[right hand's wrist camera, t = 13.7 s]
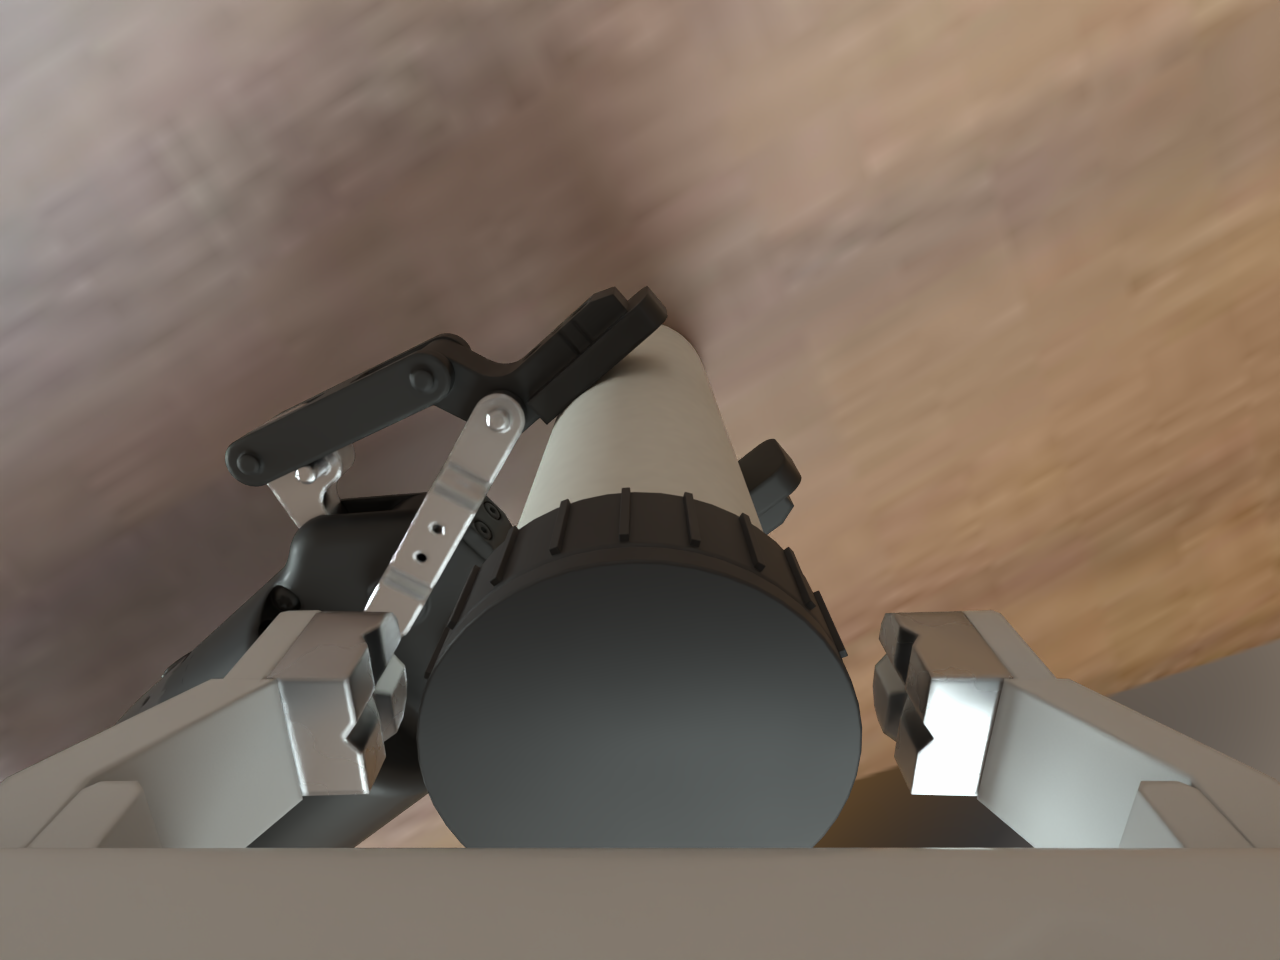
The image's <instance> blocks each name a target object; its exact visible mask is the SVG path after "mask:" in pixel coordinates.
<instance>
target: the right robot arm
mask: <svg viewBox="0 0 1280 960" xmlns="http://www.w3.org/2000/svg"><path fill="white" fill-rule="evenodd" d="M400 640H401V635H400V629H399V624H398V619H397V617H396V616H395V615H394V614H393V613H392V612H362V611H319V610H303V611H286V612H281V613H280V614H279V615H278V616H277V617H276V618H275V619H274V620H273V622H272V623H271V624H270V625H269V626H268V627H267V628H266V630H265V631H264V632H263V633H262V634H261V635H260V637H259V638H258V639H257V640H256V641H255V642H254V644H253V645H252V646H251V647H250V648H249V649H248V651H247V652H246V653H245V654H244V655H243V656H242V657H241V659H240V660H239V661H238V662H237V663H236V664H235V666H234V667H233V668H232V669H231V670H230V671H229V673H228V674H227V675H226V676H225V677H224V678H223V679H210V680H208V681H206V682H204V683H202V684H200V685H198V686H196V687H194V688H191V689H189V690H187V691H185V692H183V693H181V694H179V695H177V696H175V697H173V698H171V699H169V700H167V701H165V702H162V703H160V704H158V705H156V706H154V707H152V708H150V709H148V710H146V711H144V712H142V713H140V714H138V715H136V716H133V717H131V718H129V719H127V720H125V721H123V722H121V723H119V724H117V725H115V726H113V727H111V728H109V729H107V730H105V731H102V732H100V733H98V734H96V735H94V736H92V737H90V738H88V739H86V740H84V741H82V742H80V743H78V744H76V745H73V746H71V747H69V748H67V749H65V750H63V751H61V752H59V753H57V754H55V755H53V756H51V757H49V758H47V759H44V760H42V761H40V762H38V763H36V764H34V765H32V766H30V767H28V768H26V769H24V770H22V771H20V772H18V773H15V774H13V775H11V776H9V777H7V778H6V779H5V780H4V781H3V782H2V783H0V960H1280V783H1279V782H1278V781H1277V780H1276V779H1274V778H1272V777H1270V776H1268V775H1266V774H1264V773H1262V772H1260V771H1258V770H1256V769H1254V768H1252V767H1250V766H1248V765H1245V764H1243V763H1241V762H1239V761H1237V760H1235V759H1233V758H1231V757H1229V756H1227V755H1225V754H1223V753H1221V752H1219V751H1217V750H1215V749H1212V748H1210V747H1208V746H1206V745H1204V744H1202V743H1200V742H1198V741H1196V740H1194V739H1192V738H1190V737H1188V736H1186V735H1184V734H1181V733H1179V732H1177V731H1175V730H1173V729H1171V728H1169V727H1167V726H1165V725H1163V724H1161V723H1159V722H1157V721H1155V720H1153V719H1151V718H1148V717H1146V716H1144V715H1142V714H1140V713H1138V712H1136V711H1134V710H1132V709H1130V708H1128V707H1126V706H1124V705H1122V704H1119V703H1117V702H1115V701H1113V700H1111V699H1109V698H1107V697H1105V696H1103V695H1101V694H1099V693H1097V692H1095V691H1093V690H1091V689H1089V688H1087V687H1084V686H1082V685H1080V684H1078V683H1076V682H1074V681H1072V680H1070V679H1057V678H1056V677H1055V676H1054V675H1053V674H1052V672H1051V671H1050V670H1049V669H1048V668H1047V667H1046V665H1045V664H1044V663H1043V662H1042V661H1041V660H1040V659H1039V657H1038V656H1037V655H1036V654H1035V653H1034V652H1033V650H1032V649H1031V648H1030V647H1029V646H1028V645H1027V643H1026V642H1025V641H1024V640H1023V639H1022V638H1021V637H1020V635H1019V634H1018V633H1017V632H1016V631H1015V630H1014V628H1013V627H1012V626H1011V625H1010V624H1009V623H1008V621H1007V620H1006V619H1005V618H1004V617H1003V616H1002V615H1001V614H1000V613H998V612H996V611H994V610H978V611H954V612H914V613H885V616H884V618H883V621H882V623H881V629H880V635H879V640H880V642H881V644H882V646H883V648H884V650H885V652H886V655H885V656H884V657H883V658H882V659H881V660H880V661H879V662H878V663H877V664H876V665H875V671H874V680H873V695H874V706H875V710H876V714H877V718H878V721H879V723H880V726H881V728H882V730H883V733H884V734H886V735H887V736H889V737H890V738H892V739H893V740H894V741H896V748H895V754H894V757H895V760H896V762H897V764H898V766H899V768H900V770H901V772H902V775H903V777H904V779H905V781H906V783H907V786H908V788H909V790H910V792H911V794H926V795H963V796H978V797H977V799H978V800H979V801H980V802H981V803H983V804H984V805H985V806H986V807H987V808H989V809H990V810H991V811H992V812H993V813H994V814H996V815H997V816H998V817H999V818H1000V819H1001V820H1003V821H1004V822H1005V823H1006V824H1007V825H1009V826H1010V827H1011V828H1012V829H1013V830H1014V831H1016V832H1017V833H1018V834H1019V835H1020V836H1022V837H1023V838H1024V839H1025V840H1026V841H1027V842H1029V843H1030V844H1031V845H1032V846H1033V847H1035V848H246V847H247V846H248V845H249V844H251V843H252V842H253V841H254V840H255V839H256V838H258V837H259V836H260V835H261V834H262V833H264V832H265V831H266V830H267V829H268V828H269V827H271V826H272V825H273V824H274V823H275V822H277V821H278V820H279V819H280V818H281V817H283V816H284V815H285V814H286V813H287V812H288V811H290V810H291V809H292V808H293V807H294V806H296V805H297V804H298V803H299V802H300V801H301V800H303V797H302V796H318V795H353V794H369V793H370V790H371V788H372V786H373V784H374V782H375V779H376V777H377V775H378V773H379V771H380V768H381V766H382V764H383V762H384V760H385V758H386V754H385V747H384V741H386V740H387V739H389V738H390V737H391V736H393V735H394V734H396V733H397V731H398V728H399V726H400V724H401V721H402V719H403V715H404V710H405V704H406V699H407V677H406V669H405V665H404V664H403V663H402V662H401V661H400V660H399V659H398V658H397V657H396V656H395V655H394V652H395V650H396V648H397V646H398V644H399V642H400Z"/></svg>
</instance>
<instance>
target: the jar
mask: <svg viewBox="0 0 1280 960" xmlns="http://www.w3.org/2000/svg"><path fill="white" fill-rule="evenodd" d="M627 487H630V492H649V493H664V494H671V495H677V496H684V492H688V493H692V494H693V499H695V500H699V501H702V502H706V503H709V504H713V505H715V506H717V507H719V508H722V509H724V510H726V511H729V512H731V513H733V514H736V515H737V516H740V515H741V514H742V513H745V514H746V515H748V516H749V517H750V520H751V523H752V524H753V525H754V526H756V527H758V528H759V529H760V530H761V531H763V530H762V527H761V524H760V521H759V519H758V516H757V513H756V510H755V507H754V505H753V502H752V499H751V496H750V494H749V491H748V488H747V485H746V483H745V480H744V477H743V474H742V472H741V469H740V466H739V463H738V461H737V458H736V455H735V452H734V450H733V447H732V444H731V441H730V439H729V436H728V433H727V430H726V428H725V425H724V422H723V419H722V416H721V414H720V411H719V408H718V405H717V403H716V400H715V397H714V394H713V392H712V389H711V386H710V383H709V381H708V378H707V375H706V372H705V370H704V367H703V364H702V362H701V359H700V357H699V355H698V354H697V352H696V350H695V349H694V348H693V346H692V345H691V344H690V343H689V342H688V341H687V340H686V339H685V338H684V337H683V336H682V335H680V334H679V333H678V332H676V331H675V330H673V329H671V328H669V327H667V326H665V325H661V326H660V327H659V328H658V329H657V330H656V331H654V332H653V333H652V334H651V335H650V336H649V337H648V338H646V339H645V340H644V341H643V342H642V343H641V344H640V345H638V346H637V347H636V348H635V349H634V350H633V351H631V352H630V353H629V354H628V355H627V356H626V357H625V358H623V359H622V360H621V361H620V362H619V363H618V364H616V365H615V366H614V367H613V368H612V369H611V370H610V371H608V372H607V373H606V374H605V375H604V376H603V377H601V378H600V379H599V380H598V381H597V382H596V383H595V384H593V385H592V386H591V387H590V388H589V389H588V390H586V391H585V392H584V393H583V394H581V395H580V396H579V397H578V398H577V399H575V400H574V401H573V402H572V403H571V404H570V405H569V406H568V407H567V408H566V409H564V410H563V411H562V412H561V413H560V414H559V415H558V416H557V419H556V422H555V424H554V427H553V430H552V433H551V435H550V438H549V441H548V444H547V446H546V449H545V452H544V455H543V457H542V460H541V463H540V466H539V468H538V471H537V474H536V477H535V479H534V482H533V485H532V488H531V490H530V493H529V496H528V499H527V502H526V504H525V507H524V510H523V513H522V515H521V518H520V521H519V524H518V526H517V528H518V529H520V528H522V527H523V526H525V525H526V524H528V523H529V522H531V521H532V520H534V519H536V518H538V517H540V516H542V515H544V514H546V513H548V512H550V511H552V510H554V509H556V508H558V507H560V503H561V501H563V500H566V499H569V501H570V503H573V502H576V501H579V500H582V499H587V498H592V497H596V496H601V495H606V494H616V493H621V491H622V488H627Z"/></svg>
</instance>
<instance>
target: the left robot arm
mask: <svg viewBox="0 0 1280 960" xmlns="http://www.w3.org/2000/svg"><path fill="white" fill-rule="evenodd" d="M666 318H667V311H666V308H665V306H664V305H663V304H662V303H661V302H660V301H659V299H658V298H657V297H656V296H655V295H654V293H653V292H652V291H651V290H650V289H649V287H648V286H646V287H644V288H643V289H641V290H640V291H639V292H638V293H636V294H635V295H634V296H633V297H632V298H631V299H629V300H628V301H627V300H626V299H625V297H624V296H623V295H622V294H621V293H620V292H619V290H618V289H617V288H616V287H615V286H614V287H612V288H609V289H606V290H603V291H601V292H598V293H595V294H593V295H592V296H591V297H590V298H589V299H588V300H587V301H586V302H584V303H583V304H582V305H581V306H580V307H579V308H578V309H577V310H576V311H575V312H573V313H572V314H571V315H570V316H569V317H568V318H567V319H566V320H565V321H564V322H562V323H561V324H560V325H559V326H558V327H557V328H556V329H555V330H554V331H553V332H551V333H550V334H549V335H548V336H547V337H546V338H545V339H544V340H543V341H541V342H540V343H539V344H538V345H537V346H536V347H535V348H534V349H533V350H532V351H530V352H529V353H528V354H527V355H526V356H525V357H524V358H522V359H521V360H519V361H517V362H514V363H509V364H501V363H496V362H493V361H490V360H488V359H486V358H485V357H483V356H481V355H479V354H477V353H475V352H473V351H471V349H470V347H469V345H468V344H467V342H466V341H465V340H463V339H462V338H461V337H459V336H457V335H454V334H449V333H445V334H440V335H438V336H436V337H434V338H432V339H430V340H428V341H425V342H423V343H421V344H419V345H417V346H415V347H413V348H411V349H409V350H407V351H405V352H403V353H401V354H399V355H397V356H395V357H393V358H391V359H389V360H387V361H385V362H383V363H381V364H379V365H377V366H375V367H373V368H371V369H369V370H367V371H365V372H363V373H360V374H358V375H356V376H354V377H352V378H350V379H348V380H346V381H344V382H342V383H340V384H338V385H336V386H334V387H332V388H330V389H328V390H326V391H324V392H322V393H320V394H318V395H316V396H314V397H312V398H310V399H308V400H306V401H304V402H302V403H300V404H298V405H295V406H293V407H291V408H289V409H287V410H285V411H283V412H282V413H280V414H278V415H277V416H275V417H273V418H272V419H270V420H269V421H267V422H265V423H264V424H262V425H260V426H259V427H257V428H256V429H254V430H252V431H251V432H249V433H247V434H246V435H244V436H243V437H241V438H240V439H238V440H236V441H235V442H233V443H232V444H231V445H230V446H229V447H228V448H227V451H226V454H225V463H226V466H227V468H228V470H229V472H230V473H231V475H232V476H233V477H234V478H235V479H237V480H238V481H239V482H241V483H243V484H245V485H249V486H263V485H265V484H267V485H268V486H269V488H270V489H271V490H272V492H273V493H274V495H275V496H276V497H277V499H278V500H279V502H280V503H281V505H282V506H283V507H284V509H285V510H286V512H287V513H288V514H289V516H290V517H291V519H292V520H293V521H294V523H295V524H296V526H297V527H298V528H299V530H298V531H297V532H296V534H295V536H294V537H293V540H292V542H291V546H290V552H289V557H288V560H287V563H286V565H285V567H284V568H283V569H282V570H281V571H280V572H278V573H277V574H276V575H275V576H274V577H273V578H272V579H271V580H270V581H269V582H267V583H266V584H265V585H264V586H263V587H262V588H261V589H260V590H259V591H258V592H256V593H255V594H254V595H253V596H252V597H251V598H250V599H249V600H248V601H247V602H245V603H244V604H243V605H242V606H241V607H240V608H239V609H238V610H237V611H236V612H235V613H233V614H232V615H231V616H230V617H229V618H228V619H227V620H226V621H225V622H224V623H222V624H221V625H220V626H219V627H218V628H217V629H216V630H215V631H214V632H213V633H211V634H210V635H209V636H208V637H207V638H206V639H205V640H204V641H203V642H202V643H200V644H199V645H198V646H197V647H196V648H195V649H194V650H193V651H191V652H190V653H188V654H186V655H185V656H183V657H182V658H180V659H179V660H177V661H176V662H175V663H173V664H172V665H171V666H170V667H169V668H168V669H166V671H165V672H164V674H163V675H162V677H161V678H162V679H161V680H160V681H159V682H157V683H156V684H155V685H154V686H153V687H152V688H151V689H150V690H149V691H148V692H146V693H145V694H144V695H143V696H142V697H141V698H140V699H139V700H138V701H137V702H136V703H135V704H134V705H133V706H132V707H131V708H130V709H129V710H128V711H127V712H126V713H125V714H124V715H123V716H122V718H121V719H120V720H119V721H118V722H117V723H116V725H117V724H119V723H121V722H123V721H125V720H127V719H129V718H131V717H133V716H136V715H138V714H140V713H142V712H144V711H146V710H148V709H150V708H152V707H154V706H156V705H158V704H160V703H162V702H165V701H167V700H169V699H171V698H173V697H175V696H177V695H179V694H181V693H183V692H185V691H187V690H189V689H191V688H194V687H196V686H198V685H200V684H202V683H204V682H206V681H208V680H210V679H223V678H224V677H225V676H226V675H227V674H228V673H229V671H230V670H231V669H232V668H233V667H234V666H235V664H236V663H237V662H238V661H239V660H240V659H241V657H242V656H243V655H244V654H245V653H246V652H247V651H248V649H249V648H250V647H251V646H252V645H253V644H254V642H255V641H256V640H257V639H258V638H259V637H260V635H261V634H262V633H263V632H264V631H265V630H266V628H267V627H268V626H269V625H270V624H271V623H272V622H273V620H274V619H275V618H276V617H277V616H278V615H279V614H280V613H281V612H286V611H303V610H319V611H362V612H392V613H393V614H394V615H395V616H396V617H397V619H398V624H399V629H400V635H401V640H400V642H399V644H398V646H397V648H396V650H395V652H394V655H395V656H396V657H397V658H398V659H399V660H400V661H401V662H402V663H403V664H404V665H405V669H406V677H407V699H406V704H405V710H404V715H403V719H402V721H401V724H400V726H399V728H398V731H397V733H396V734H394V735H393V736H391V737H390V738H389V739H387V740H386V741H384V747H385V754H386V758H385V760H384V762H383V764H382V766H381V768H380V771H379V773H378V775H377V777H376V779H375V782H374V784H373V786H372V788H371V790H370V793H369V794H353V795H318V796H302V797H303V800H301V801H300V802H299V803H298V804H297V805H296V806H294V807H293V808H292V809H291V810H290V811H288V812H287V813H286V814H285V815H284V816H283V817H281V818H280V819H279V820H278V821H277V822H275V823H274V824H273V825H272V826H271V827H269V828H268V829H267V830H266V831H265V832H264V833H262V834H261V835H260V836H259V837H258V838H256V839H255V840H254V841H253V842H252V843H251V844H249V845H248V846H247V847H246V848H354V847H355V846H357V845H358V844H360V843H361V842H362V841H364V840H365V839H366V838H368V837H369V836H370V835H372V834H373V833H375V832H376V831H377V830H379V829H380V828H381V827H383V826H384V825H386V824H387V823H388V822H390V821H391V820H392V819H394V818H395V817H396V816H398V815H399V814H401V813H402V812H403V811H405V810H406V809H407V808H409V807H410V806H411V805H413V804H414V803H416V802H417V801H418V800H420V799H421V798H422V797H424V796H425V795H426V794H428V791H427V789H426V786H425V784H424V780H423V776H422V772H421V769H420V765H419V760H418V750H417V740H416V734H417V720H418V711H419V707H420V703H421V699H422V695H423V691H424V688H425V686H426V684H427V681H428V679H424V674H425V671H426V669H427V666H428V664H429V662H430V660H431V657H432V655H433V653H434V651H435V648H436V646H437V644H438V642H439V639H440V637H441V635H442V633H443V630H444V628H445V626H446V624H447V621H448V619H449V617H450V615H451V612H452V611H453V610H454V608H455V605H456V603H457V601H458V599H459V596H460V594H461V592H462V590H463V587H464V585H465V583H466V581H467V578H468V576H469V574H470V572H471V569H472V568H473V567H474V565H477V566H478V567H481V565H482V564H483V563H484V562H485V561H486V560H487V558H488V557H489V556H490V555H491V554H492V552H493V551H494V550H495V549H496V548H497V547H498V546H499V545H500V544H502V543H503V542H504V541H505V539H506V536H507V534H508V531H509V529H511V528H512V525H511V523H510V522H509V520H508V518H507V517H506V515H505V513H504V512H503V511H501V510H500V509H499V508H498V507H497V506H496V505H495V504H494V503H493V502H492V501H491V500H490V499H489V498H488V497H487V496H486V494H487V492H488V491H489V489H490V487H491V485H492V483H493V482H494V480H495V478H496V476H497V475H498V473H499V471H500V469H501V468H502V466H503V464H504V462H505V461H506V459H507V457H508V455H509V454H510V452H511V450H512V448H513V447H514V445H515V443H516V441H517V440H518V438H519V436H520V434H521V433H523V432H524V431H525V430H526V429H527V428H528V427H530V426H531V425H532V424H533V423H534V422H535V421H536V420H538V419H539V418H541V419H542V420H543V421H544V422H545V423H546V424H548V423H549V422H551V421H552V420H553V419H554V418H555V417H556V416H558V415H559V414H560V413H561V412H562V411H563V410H564V409H566V408H567V407H568V406H569V405H570V404H571V403H572V402H573V401H574V400H575V399H577V398H578V397H579V396H580V395H581V394H583V393H584V392H585V391H586V390H588V389H589V388H590V387H591V386H592V385H593V384H595V383H596V382H597V381H598V380H599V379H600V378H601V377H603V376H604V375H605V374H606V373H607V372H608V371H610V370H611V369H612V368H613V367H614V366H615V365H616V364H618V363H619V362H620V361H621V360H622V359H623V358H625V357H626V356H627V355H628V354H629V353H630V352H631V351H633V350H634V349H635V348H636V347H637V346H638V345H640V344H641V343H642V342H643V341H644V340H645V339H646V338H648V337H649V336H650V335H651V334H652V333H653V332H654V331H656V330H657V329H658V328H659V327H660V326H661V325H662V323H663V322H664V321H665V320H666ZM432 405H435V406H437V407H439V408H441V409H443V410H445V411H447V412H449V413H451V414H453V415H455V416H457V417H459V418H461V419H463V420H465V421H467V423H466V425H465V427H464V428H463V430H462V432H461V434H460V436H459V438H458V440H457V441H456V443H455V445H454V447H453V449H452V451H451V453H450V454H449V456H448V458H447V460H446V462H445V464H444V465H443V467H442V469H441V470H440V472H439V474H438V475H437V477H436V479H435V480H434V482H433V484H432V486H431V487H430V489H429V491H428V492H423V493H410V494H398V495H385V496H373V497H360V498H348V499H340V498H339V496H338V493H337V482H338V479H339V478H340V477H341V476H342V475H343V474H344V473H345V472H346V471H347V470H349V469H350V468H351V466H352V465H353V463H354V461H355V450H354V447H353V445H352V443H354V442H356V441H358V440H360V439H362V438H364V437H367V436H369V435H371V434H373V433H375V432H377V431H379V430H381V429H383V428H385V427H388V426H390V425H392V424H394V423H396V422H398V421H400V420H402V419H404V418H406V417H409V416H411V415H413V414H415V413H417V412H419V411H421V410H423V409H425V408H428V407H430V406H432ZM738 463H739V466H740V469H741V472H742V474H743V477H744V480H745V483H746V485H747V488H748V491H749V494H750V496H751V499H752V502H753V505H754V507H755V510H756V513H757V516H758V519H759V521H760V524H761V527H762V530H763V532H764V533H765V534H766V535H767V534H769V533H770V532H771V531H773V530H774V529H776V528H777V527H778V526H780V525H781V524H782V523H783V522H784V521H785V519H786V517H787V516H788V514H789V513H790V511H791V510H792V508H793V507H794V505H793V503H792V501H791V499H790V497H789V495H790V494H791V493H792V492H793V491H794V490H795V489H796V488H797V487H798V485H799V484H800V482H801V475H800V473H799V471H798V470H797V468H796V466H795V464H794V463H793V461H792V459H791V458H790V457H789V455H788V454H787V453H786V452H785V451H784V449H783V448H782V447H781V446H780V445H779V443H778V442H777V441H776V440H775V439H769V440H766V441H764V442H763V443H761V444H760V445H758V446H757V447H756V448H754V449H753V450H752V451H750V452H749V453H748V454H747V455H745V456H744V457H743V458H741V459H740V460H739V461H738Z"/></svg>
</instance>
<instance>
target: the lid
mask: <svg viewBox="0 0 1280 960" xmlns="http://www.w3.org/2000/svg"><path fill="white" fill-rule="evenodd" d="M846 656H848V654H847V652H846V650H845V648H844V645H843V643H842V641H841V639H840V636H839V634H838V632H837V630H836V627H835V625H834V623H833V621H832V619H831V616H830V614H829V612H828V610H827V607H826V605H825V603H824V601H823V598H822V596H821V594H820V592H819V591H816V592H814V593H813V592H812V590H811V588H810V586H809V584H808V582H807V580H806V578H805V576H804V575H803V573H802V571H801V569H800V566H799V564H798V562H797V559H796V557H795V555H794V552H793V551H792V550H791V549H790V548H789V547H788V548H786V549H785V550H783V549H782V548H781V547H780V546H779V545H778V544H777V543H776V542H775V541H774V540H773V539H771V538H770V537H769V536H768V535H766V534H765V533H764V532H763V531H761V530H760V529H759V528H758V527H756V526H754V525H753V524H752V523H751V520H750V517H749V516H748V515H746V514H745V513H742V514H741V515H740V516H737V515H736V514H733V513H731V512H729V511H726V510H724V509H722V508H719V507H717V506H715V505H713V504H709V503H706V502H702V501H699V500H695V499H693V494H692V493H688V492H684V496H677V495H671V494H664V493H649V492H630V487H627V488H622V491H621V493H616V494H606V495H601V496H596V497H592V498H587V499H582V500H579V501H576V502H573V503H570V501H569V499H566V500H563V501H561V503H560V507H558V508H556V509H554V510H552V511H550V512H548V513H546V514H544V515H542V516H540V517H538V518H536V519H534V520H532V521H531V522H529V523H528V524H526V525H525V526H523V527H522V528H520V529H518V528H517V527H516V526H513V527H512V528H511V529H509V531H508V534H507V536H506V539H505V541H504V542H503V543H502V544H500V545H499V546H498V547H497V548H496V549H495V550H494V551H493V552H492V554H491V555H490V556H489V557H488V558H487V560H486V561H485V562H484V563H483V564H482V565H481V567H478V566H477V565H474V567H473V568H472V569H471V572H470V574H469V576H468V578H467V581H466V583H465V585H464V587H463V590H462V592H461V594H460V596H459V599H458V601H457V603H456V605H455V608H454V610H453V611H452V612H451V615H450V617H449V619H448V621H447V624H446V626H445V628H444V630H443V633H442V635H441V637H440V639H439V642H438V644H437V646H436V648H435V651H434V653H433V655H432V657H431V660H430V662H429V664H428V666H427V669H426V671H425V674H424V679H428V681H427V684H426V686H425V688H424V691H423V695H422V699H421V703H420V707H419V711H418V720H417V734H416V740H417V750H418V760H419V765H420V769H421V772H422V776H423V780H424V784H425V786H426V789H427V791H428V793H429V796H430V798H431V800H432V802H433V805H434V806H435V808H436V810H437V811H438V813H439V815H440V816H441V818H442V819H443V821H444V823H445V824H446V826H447V827H448V828H449V829H450V830H451V832H452V833H453V834H454V835H455V836H456V838H457V839H458V840H459V841H460V842H461V844H462V845H464V846H465V847H466V848H813V847H814V846H815V844H816V843H817V842H818V841H819V840H820V839H821V838H822V837H823V836H824V835H825V834H826V832H827V831H828V830H829V828H830V827H831V826H832V824H833V823H834V822H835V820H836V819H837V818H838V816H839V814H840V812H841V810H842V808H843V806H844V805H845V803H846V801H847V799H848V797H849V795H850V792H851V789H852V787H853V784H854V781H855V778H856V776H857V771H858V766H859V761H860V755H861V746H862V724H861V717H860V710H859V703H858V700H857V697H856V694H855V691H854V688H853V684H852V681H851V679H850V676H849V674H848V672H847V670H846V667H845V665H844V663H843V661H842V658H843V657H846Z"/></svg>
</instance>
